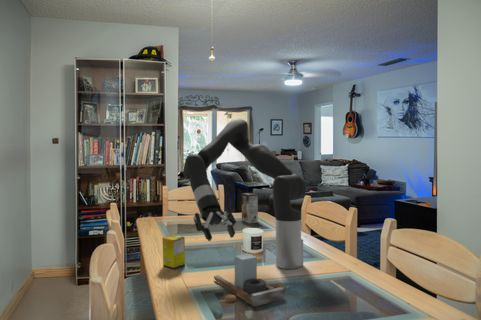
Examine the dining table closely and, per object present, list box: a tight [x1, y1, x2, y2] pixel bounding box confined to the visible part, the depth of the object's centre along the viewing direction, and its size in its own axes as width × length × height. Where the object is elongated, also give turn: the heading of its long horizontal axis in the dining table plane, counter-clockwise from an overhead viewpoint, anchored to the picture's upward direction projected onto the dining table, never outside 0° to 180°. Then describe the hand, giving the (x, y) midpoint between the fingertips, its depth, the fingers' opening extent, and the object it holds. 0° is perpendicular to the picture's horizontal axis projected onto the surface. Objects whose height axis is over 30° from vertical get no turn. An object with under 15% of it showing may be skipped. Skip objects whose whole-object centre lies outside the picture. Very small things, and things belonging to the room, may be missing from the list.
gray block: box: [234, 253, 258, 291], centre depth 122 cm, size 5×5×10 cm
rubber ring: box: [244, 278, 267, 295], centre depth 118 cm, size 6×6×4 cm
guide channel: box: [213, 275, 286, 307], centre depth 122 cm, size 20×24×3 cm
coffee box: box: [241, 192, 259, 224], centre depth 226 cm, size 9×6×16 cm
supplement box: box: [162, 234, 186, 270], centre depth 145 cm, size 6×6×11 cm
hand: (221, 237), depth 133 cm, fingers open, 8 cm apart
